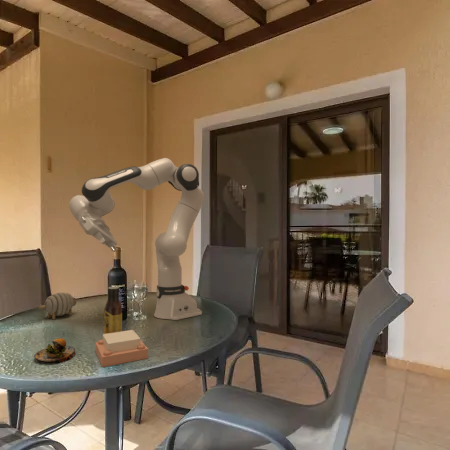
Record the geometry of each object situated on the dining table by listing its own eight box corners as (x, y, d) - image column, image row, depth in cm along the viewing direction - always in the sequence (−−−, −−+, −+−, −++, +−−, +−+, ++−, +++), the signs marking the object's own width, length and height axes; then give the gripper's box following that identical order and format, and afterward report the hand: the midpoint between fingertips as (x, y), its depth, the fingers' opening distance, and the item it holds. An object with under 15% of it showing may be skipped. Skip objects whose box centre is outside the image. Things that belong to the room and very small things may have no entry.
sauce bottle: (103, 339, 122) (103, 286, 122) (120, 337, 124) (121, 284, 124) (104, 345, 116) (104, 289, 116) (122, 343, 118) (123, 288, 118)
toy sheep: (82, 314, 155) (82, 291, 155) (47, 323, 140) (47, 297, 140) (68, 311, 160) (68, 288, 160) (33, 319, 146) (33, 294, 146)
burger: (32, 355, 107) (32, 333, 107) (71, 348, 114) (71, 326, 114) (36, 369, 97) (36, 344, 97) (78, 360, 104) (79, 336, 104)
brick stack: (136, 344, 117) (137, 327, 117) (148, 358, 105) (148, 339, 105) (95, 351, 111) (95, 333, 111) (102, 367, 98) (102, 347, 98)
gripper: (86, 209, 130) (103, 232, 125) (110, 228, 149) (126, 249, 143) (73, 219, 129) (90, 242, 124) (99, 237, 148) (114, 259, 142)
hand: (109, 246), depth 134 cm, fingers open, 8 cm apart
